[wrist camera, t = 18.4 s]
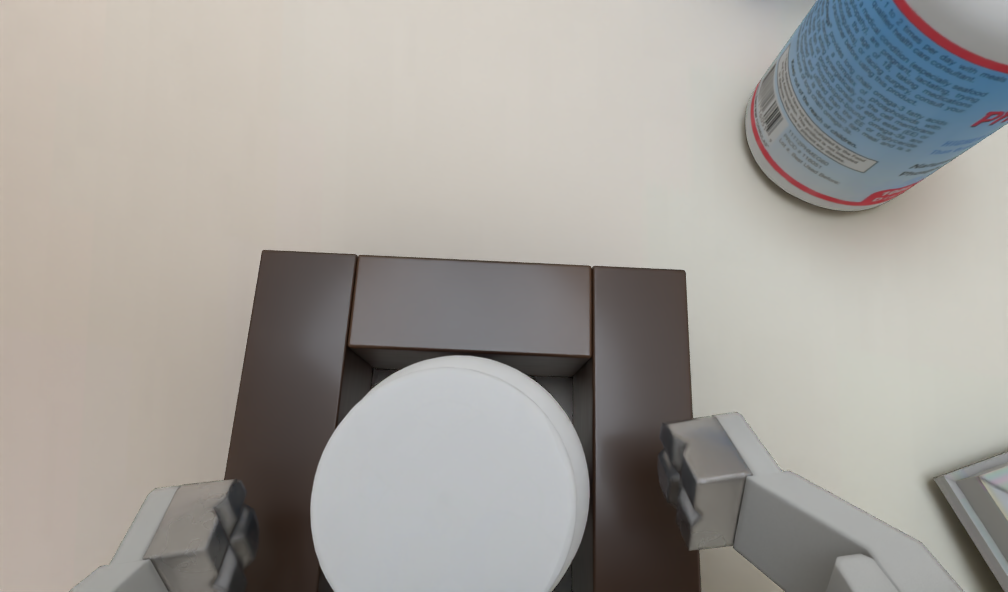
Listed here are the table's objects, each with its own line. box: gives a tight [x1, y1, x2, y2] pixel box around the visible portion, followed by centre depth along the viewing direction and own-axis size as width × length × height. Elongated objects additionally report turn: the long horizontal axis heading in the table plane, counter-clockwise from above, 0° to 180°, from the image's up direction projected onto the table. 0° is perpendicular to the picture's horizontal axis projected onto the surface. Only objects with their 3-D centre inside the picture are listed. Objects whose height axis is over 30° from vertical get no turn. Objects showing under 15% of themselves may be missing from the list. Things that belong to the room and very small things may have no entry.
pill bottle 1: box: [310, 355, 590, 592], centre depth 13 cm, size 5×5×9 cm
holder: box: [224, 250, 701, 592], centre depth 15 cm, size 11×11×4 cm
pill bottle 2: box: [745, 0, 1008, 211], centre depth 15 cm, size 6×6×11 cm
